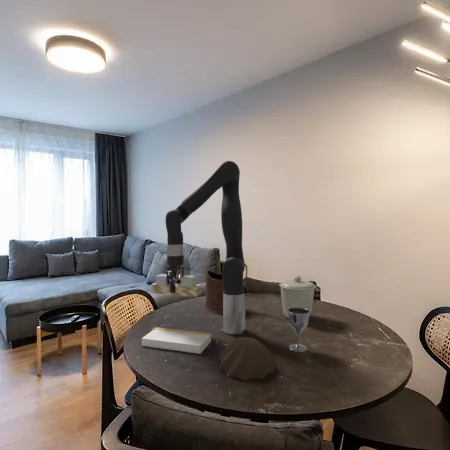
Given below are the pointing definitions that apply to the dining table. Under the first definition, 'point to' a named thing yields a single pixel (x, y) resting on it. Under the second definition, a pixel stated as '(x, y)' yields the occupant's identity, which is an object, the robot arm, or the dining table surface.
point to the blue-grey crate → (161, 279)
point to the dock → (177, 340)
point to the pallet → (176, 290)
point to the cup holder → (215, 292)
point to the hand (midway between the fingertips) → (175, 291)
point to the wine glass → (298, 325)
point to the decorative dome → (246, 359)
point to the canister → (297, 294)
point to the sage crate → (188, 281)
